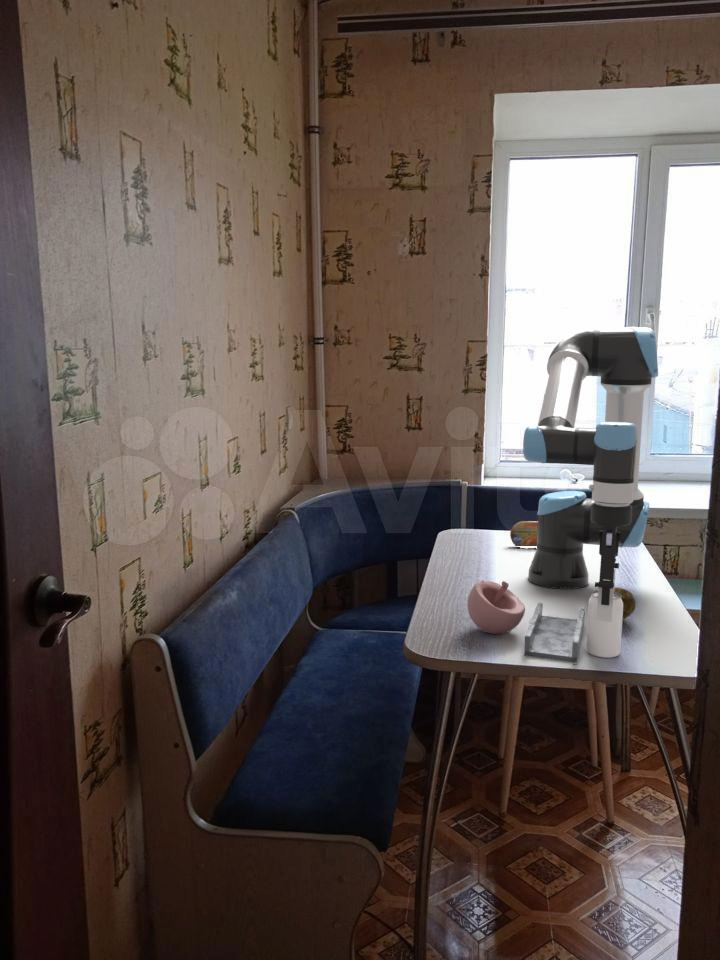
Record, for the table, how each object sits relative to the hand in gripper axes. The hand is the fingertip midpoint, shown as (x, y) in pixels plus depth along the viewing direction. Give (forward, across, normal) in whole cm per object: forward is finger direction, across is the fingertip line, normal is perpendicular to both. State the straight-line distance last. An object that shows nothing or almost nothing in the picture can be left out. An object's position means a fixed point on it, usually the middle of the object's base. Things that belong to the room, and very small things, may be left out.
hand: (605, 610), depth 150 cm
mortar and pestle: (+9, -4, -22) cm, 24 cm away
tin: (+8, -80, -23) cm, 84 cm away
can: (+9, 0, 0) cm, 9 cm away
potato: (+9, -22, +1) cm, 23 cm away
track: (+9, -4, -10) cm, 14 cm away
